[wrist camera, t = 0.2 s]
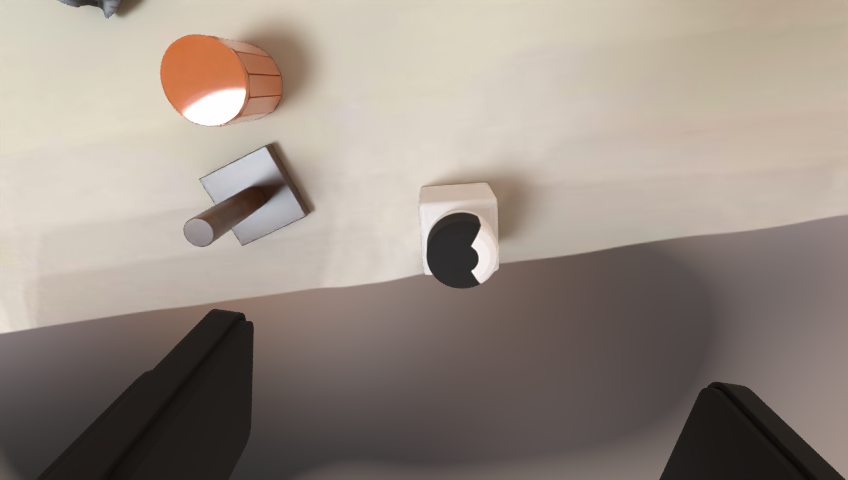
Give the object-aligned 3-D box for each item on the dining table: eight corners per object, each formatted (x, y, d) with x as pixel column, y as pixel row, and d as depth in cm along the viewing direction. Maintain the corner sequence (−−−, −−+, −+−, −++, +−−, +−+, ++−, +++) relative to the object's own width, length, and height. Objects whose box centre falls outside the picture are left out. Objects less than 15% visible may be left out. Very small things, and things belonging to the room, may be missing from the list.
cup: (198, 64, 41) (142, 59, 33) (257, 31, 40) (214, 17, 32) (237, 130, 43) (193, 140, 35) (294, 100, 42) (263, 103, 34)
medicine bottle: (425, 249, 47) (422, 300, 36) (419, 186, 45) (415, 220, 34) (489, 245, 47) (507, 295, 36) (488, 181, 45) (507, 214, 33)
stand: (206, 176, 45) (126, 208, 33) (271, 143, 44) (211, 165, 32) (248, 241, 47) (187, 293, 36) (310, 211, 46) (268, 255, 34)
